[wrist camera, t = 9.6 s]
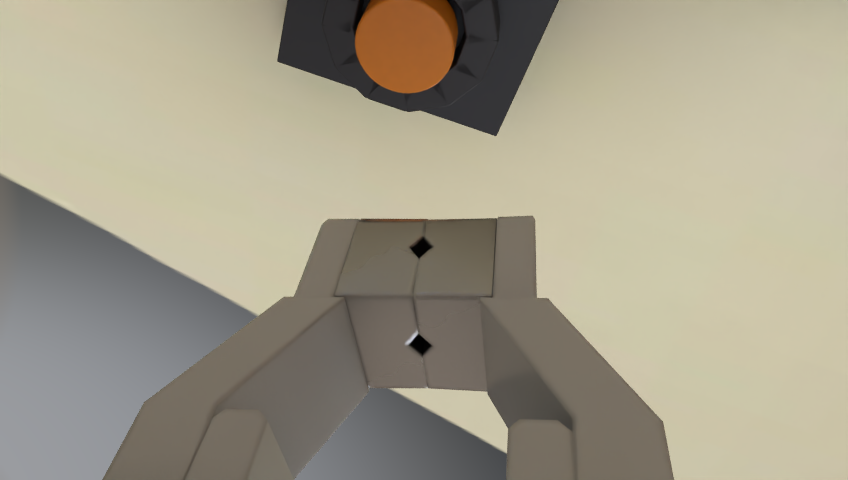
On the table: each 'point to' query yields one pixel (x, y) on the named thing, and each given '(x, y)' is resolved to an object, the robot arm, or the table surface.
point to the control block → (468, 75)
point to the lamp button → (407, 43)
